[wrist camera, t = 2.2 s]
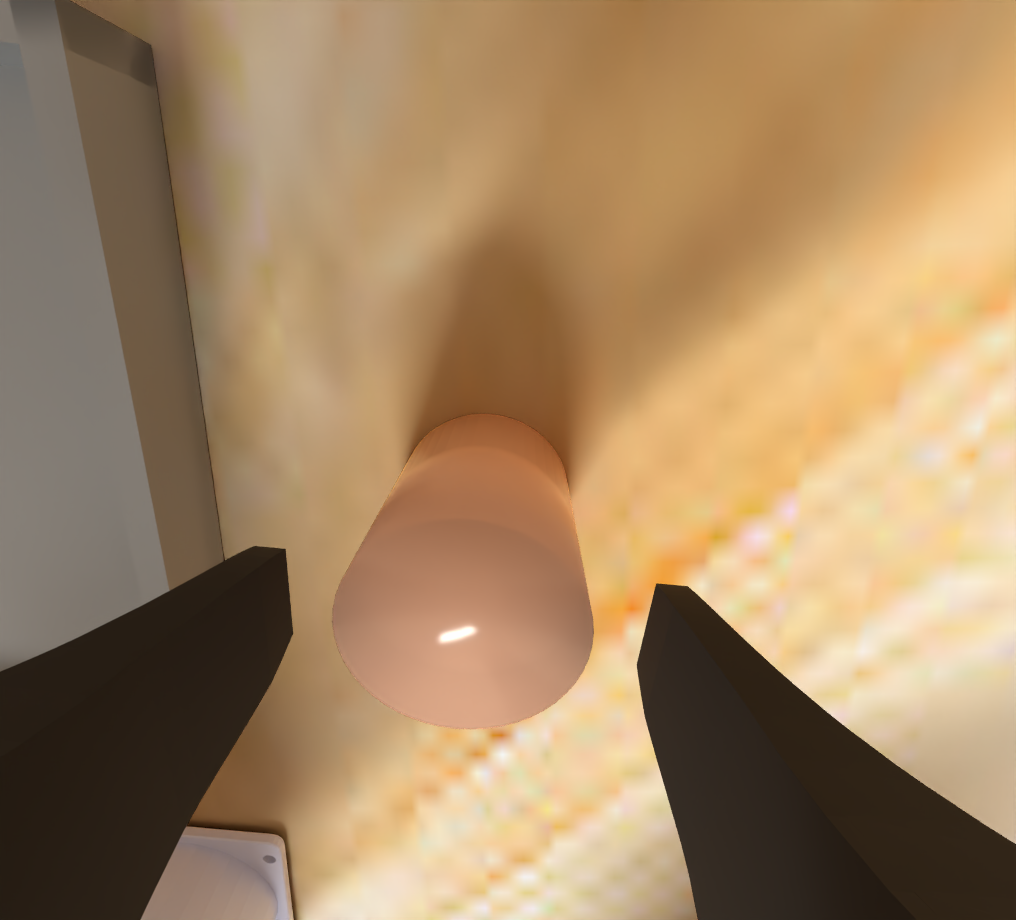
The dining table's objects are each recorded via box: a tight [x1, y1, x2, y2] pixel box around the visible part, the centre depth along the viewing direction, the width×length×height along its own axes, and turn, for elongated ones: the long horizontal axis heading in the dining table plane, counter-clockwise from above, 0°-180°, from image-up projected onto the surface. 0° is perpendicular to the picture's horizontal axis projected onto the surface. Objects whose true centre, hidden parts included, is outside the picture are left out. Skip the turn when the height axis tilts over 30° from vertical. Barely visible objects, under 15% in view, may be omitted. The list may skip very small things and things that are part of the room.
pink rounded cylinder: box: [332, 414, 594, 729], centre depth 12 cm, size 5×5×6 cm
